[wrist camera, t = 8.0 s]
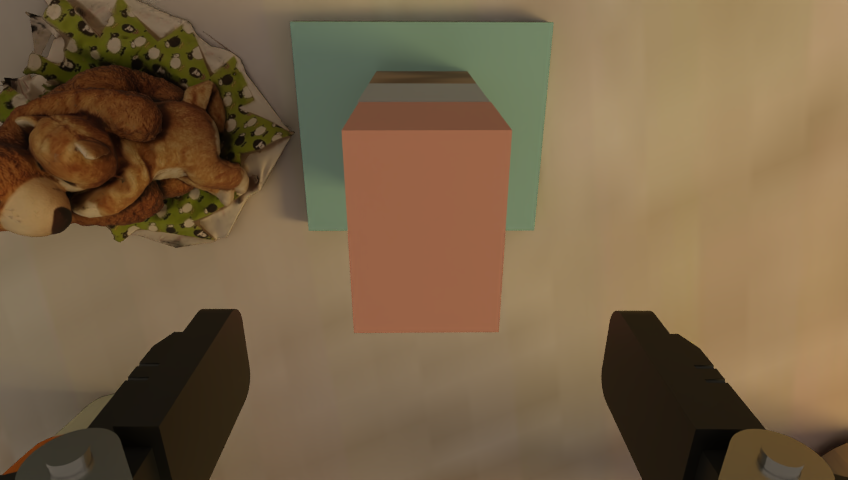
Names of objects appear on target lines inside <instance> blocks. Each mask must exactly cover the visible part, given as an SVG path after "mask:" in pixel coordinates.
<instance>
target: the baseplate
mask: <svg viewBox="0 0 848 480" xmlns="http://www.w3.org/2000/svg"><path fill="white" fill-rule="evenodd" d="M290 28H291V39H292V50H293V61H294V72H295V83H296V94H297V105H298V116H299V127H300V138H301V149H302V160H303V171H304V182H305V193H306V204H307V215H308V226H309V231H348V227H347V211H346V195H345V179H344V163H343V147H342V131H341V130H342V129H343V127H344V126H345V124H346V122H347V121H348V119H349V117H350V116H351V114H352V112H353V111H354V109H355V108H356V106H357V104H358V100H359V98H360V97H361V95H362V93H363V92H364V90H365V89H366V87H367V86H368V84H369V82H370V81H371V79H372V78H373V76H374V74H375V73H376V71H468V73H469V74H470V75H471V77H472V78H473V79H474V81H475V82H476V84H477V85H478V86H479V88H480V89H481V90H482V92H483V93H484V94H485V96H486V97H487V98H488V100H489V101H490V102H491V103H492V104H493V105H494V107H495V108H496V109H497V111H498V112H499V113H500V115H501V116H502V117H503V119H504V120H505V121H506V123H507V124H508V125H509V127H510V128H511V129H512V140H511V155H510V170H509V185H508V200H507V215H506V230H534V226H535V216H536V205H537V194H538V183H539V173H540V162H541V151H542V141H543V130H544V119H545V109H546V98H547V87H548V77H549V66H550V55H551V44H552V34H553V22H421V21H292V22H290Z"/></svg>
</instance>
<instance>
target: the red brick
mask: <svg viewBox="0 0 848 480" xmlns="http://www.w3.org/2000/svg"><path fill="white" fill-rule="evenodd" d="M341 131H342V147H343V163H344V179H345V195H346V211H347V227H348V243H349V259H350V275H351V291H352V307H353V323H354V333H402V332H499V320H500V305H501V290H502V275H503V260H504V245H505V230H506V215H507V200H508V185H509V170H510V155H511V140H512V129H511V128H510V127H509V125H508V124H507V123H506V121H505V120H504V119H503V117H502V116H501V115H500V113H499V112H498V111H497V109H496V108H495V107H494V105H493V104H492V103H491V102H359V103H358V104H357V106H356V108H355V109H354V111H353V112H352V114H351V116H350V117H349V119H348V121H347V122H346V124H345V126H344V127H343V129H342V130H341Z"/></svg>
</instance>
